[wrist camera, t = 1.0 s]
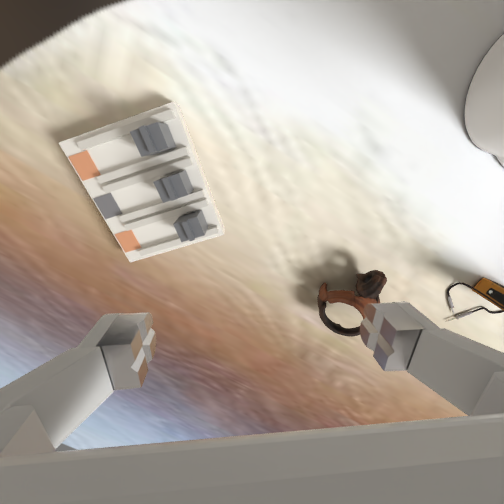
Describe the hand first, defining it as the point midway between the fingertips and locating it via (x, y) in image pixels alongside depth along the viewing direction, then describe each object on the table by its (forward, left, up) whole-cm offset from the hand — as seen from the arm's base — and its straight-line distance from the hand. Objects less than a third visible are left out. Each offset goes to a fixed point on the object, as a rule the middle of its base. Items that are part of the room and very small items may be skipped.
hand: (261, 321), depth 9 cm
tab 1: (+8, -9, -23) cm, 26 cm away
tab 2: (+8, +1, -23) cm, 24 cm away
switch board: (+12, -4, -25) cm, 28 cm away
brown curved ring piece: (-12, +20, -26) cm, 35 cm away
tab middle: (+8, -4, -23) cm, 24 cm away
